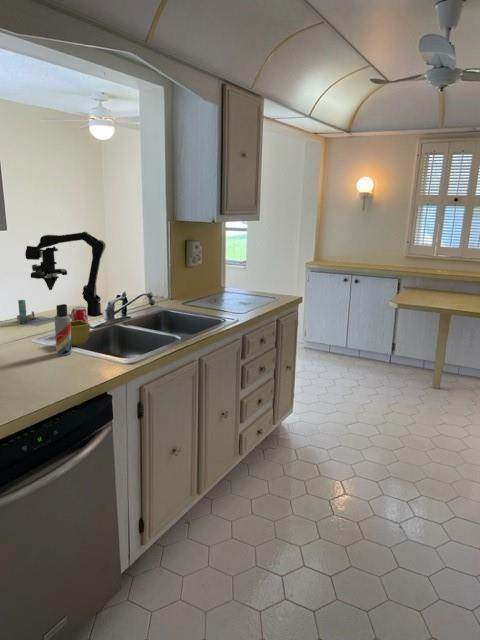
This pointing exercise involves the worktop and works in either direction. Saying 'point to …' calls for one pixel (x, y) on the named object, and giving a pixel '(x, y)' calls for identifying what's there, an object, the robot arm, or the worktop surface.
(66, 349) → the lotion bottle
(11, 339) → the worktop surface
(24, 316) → the gate
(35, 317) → the post on square base
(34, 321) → the yard mat
